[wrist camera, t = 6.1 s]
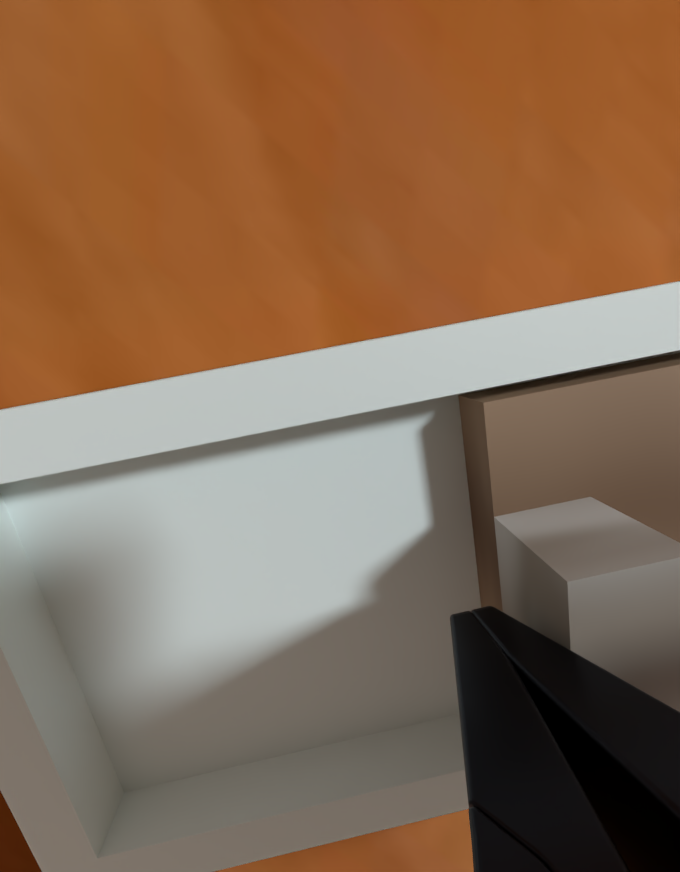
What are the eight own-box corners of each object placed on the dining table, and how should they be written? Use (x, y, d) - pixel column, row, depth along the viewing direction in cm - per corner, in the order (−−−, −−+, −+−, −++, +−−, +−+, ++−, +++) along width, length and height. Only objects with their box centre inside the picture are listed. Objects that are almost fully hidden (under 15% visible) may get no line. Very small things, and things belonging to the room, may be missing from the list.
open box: (662, 649, 12) (764, 735, 9) (118, 776, 11) (60, 909, 9) (666, 283, 10) (807, 257, 7) (-30, 415, 9) (-176, 443, 6)
